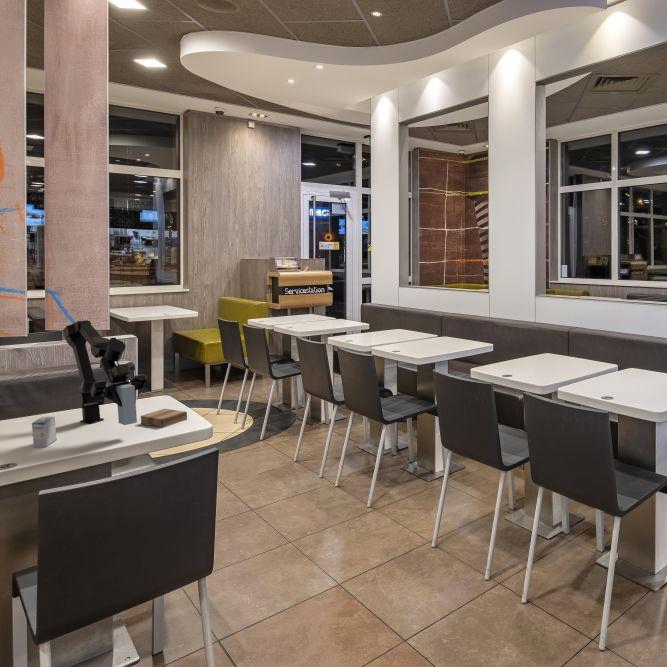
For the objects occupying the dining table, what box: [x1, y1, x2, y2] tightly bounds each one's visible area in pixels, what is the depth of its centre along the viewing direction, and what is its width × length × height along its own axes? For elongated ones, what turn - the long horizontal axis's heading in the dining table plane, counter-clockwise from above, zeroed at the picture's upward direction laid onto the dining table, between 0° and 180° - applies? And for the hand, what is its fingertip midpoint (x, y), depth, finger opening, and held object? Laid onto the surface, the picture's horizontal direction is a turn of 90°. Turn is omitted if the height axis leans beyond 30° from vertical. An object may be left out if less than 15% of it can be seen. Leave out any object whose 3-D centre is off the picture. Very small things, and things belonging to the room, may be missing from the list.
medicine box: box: [31, 415, 57, 449], centre depth 187 cm, size 8×4×9 cm, turn 5°
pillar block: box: [116, 384, 138, 426], centre depth 191 cm, size 4×4×13 cm
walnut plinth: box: [140, 408, 188, 428], centre depth 212 cm, size 12×12×3 cm
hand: (128, 404), depth 190 cm, fingers closed on pillar block, 4 cm apart
